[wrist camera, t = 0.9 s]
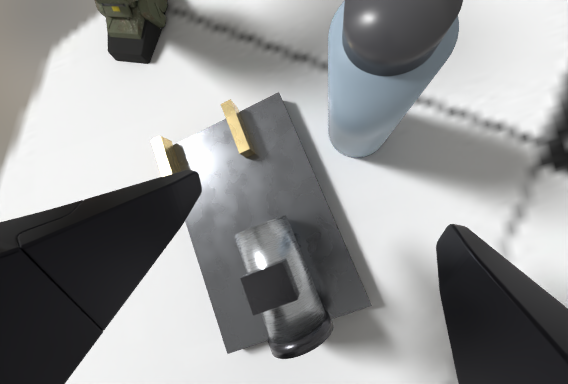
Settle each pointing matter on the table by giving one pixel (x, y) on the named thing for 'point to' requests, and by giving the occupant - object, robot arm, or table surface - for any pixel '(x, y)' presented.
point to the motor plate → (258, 205)
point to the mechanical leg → (133, 27)
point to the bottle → (383, 65)
